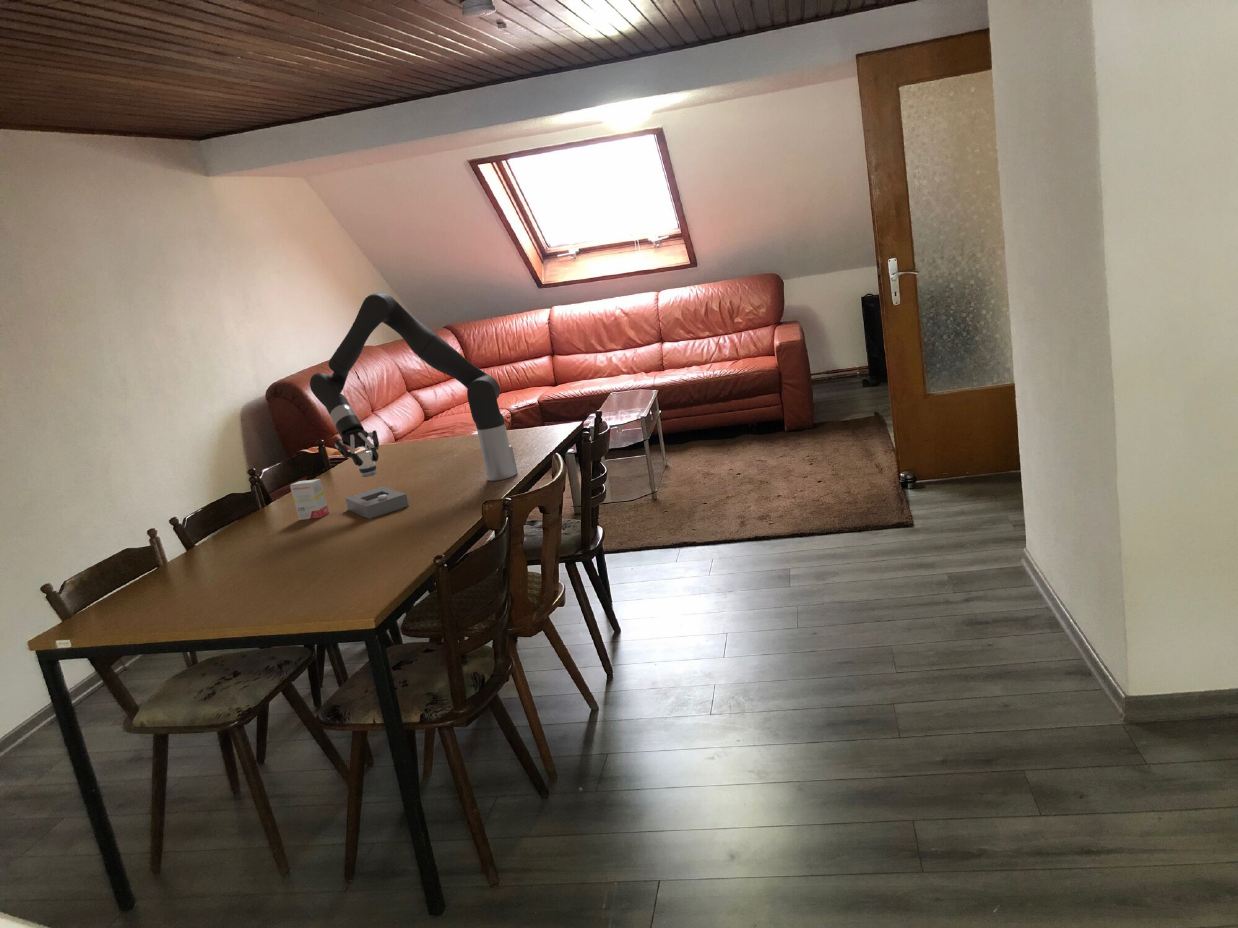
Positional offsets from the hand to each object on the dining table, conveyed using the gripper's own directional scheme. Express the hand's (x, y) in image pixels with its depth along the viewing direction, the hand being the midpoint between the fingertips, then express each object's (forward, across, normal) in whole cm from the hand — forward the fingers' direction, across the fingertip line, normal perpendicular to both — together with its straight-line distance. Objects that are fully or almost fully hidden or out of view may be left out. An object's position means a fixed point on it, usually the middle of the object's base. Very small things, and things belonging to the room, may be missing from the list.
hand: (368, 461), depth 296 cm
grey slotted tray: (+10, 0, +12) cm, 15 cm away
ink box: (-1, -16, +23) cm, 28 cm away
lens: (+2, 0, +4) cm, 5 cm away
